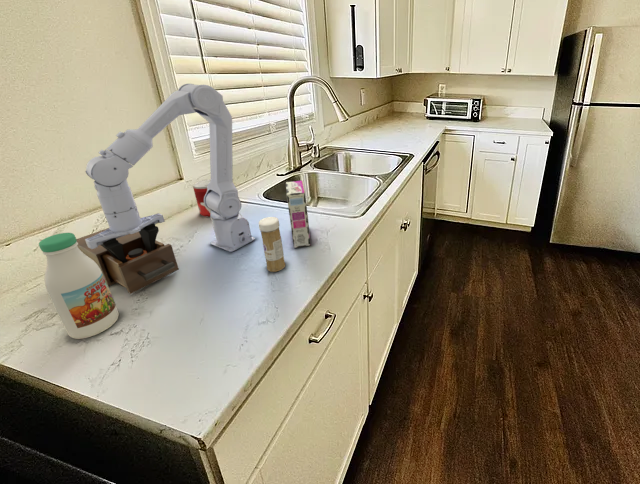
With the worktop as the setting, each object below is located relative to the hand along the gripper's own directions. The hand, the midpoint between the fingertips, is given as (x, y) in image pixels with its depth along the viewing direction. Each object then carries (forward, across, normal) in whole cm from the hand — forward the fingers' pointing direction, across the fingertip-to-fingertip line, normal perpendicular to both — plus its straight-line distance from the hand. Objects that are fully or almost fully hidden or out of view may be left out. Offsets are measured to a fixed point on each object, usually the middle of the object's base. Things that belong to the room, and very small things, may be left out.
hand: (138, 260), depth 78 cm
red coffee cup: (+5, +31, +20) cm, 37 cm away
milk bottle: (+5, -13, -9) cm, 17 cm away
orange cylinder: (+3, 0, 0) cm, 3 cm away
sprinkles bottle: (+5, +18, -26) cm, 32 cm away
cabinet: (+5, 0, +10) cm, 11 cm away
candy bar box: (+5, +32, -21) cm, 39 cm away
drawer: (+4, 0, -2) cm, 4 cm away
